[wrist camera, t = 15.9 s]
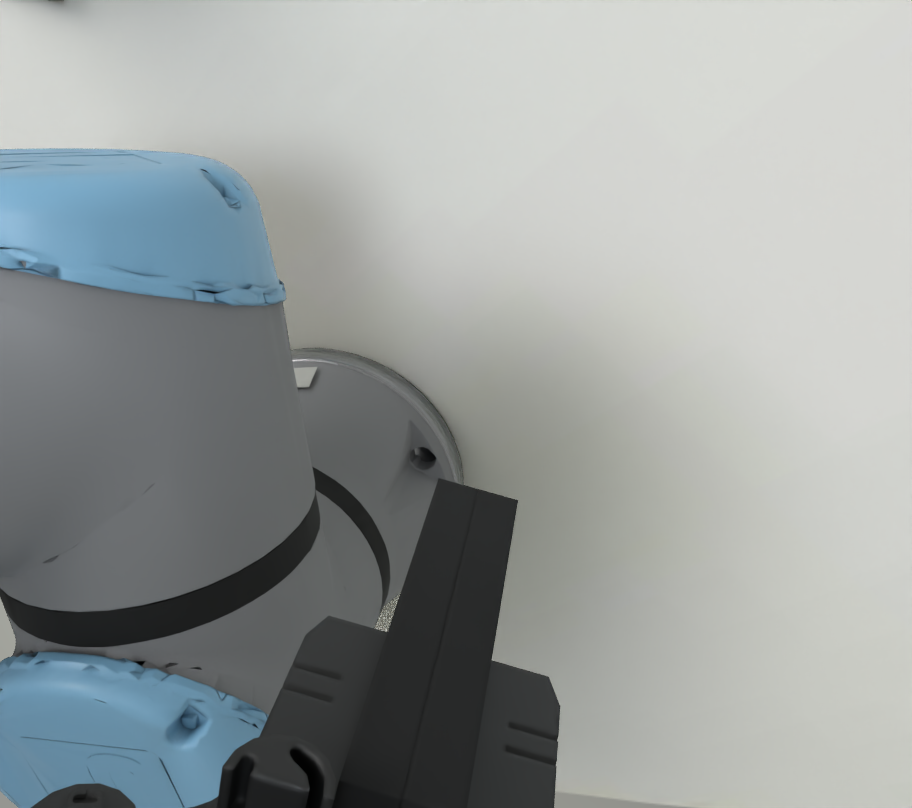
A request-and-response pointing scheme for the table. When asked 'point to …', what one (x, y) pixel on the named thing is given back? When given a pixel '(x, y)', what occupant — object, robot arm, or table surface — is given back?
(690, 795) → the table surface
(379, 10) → the table surface
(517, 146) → the table surface
